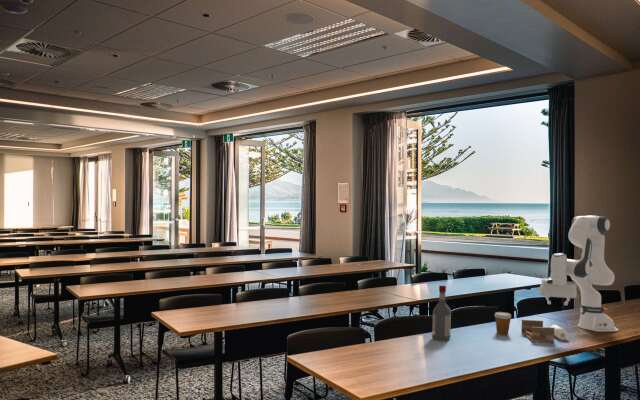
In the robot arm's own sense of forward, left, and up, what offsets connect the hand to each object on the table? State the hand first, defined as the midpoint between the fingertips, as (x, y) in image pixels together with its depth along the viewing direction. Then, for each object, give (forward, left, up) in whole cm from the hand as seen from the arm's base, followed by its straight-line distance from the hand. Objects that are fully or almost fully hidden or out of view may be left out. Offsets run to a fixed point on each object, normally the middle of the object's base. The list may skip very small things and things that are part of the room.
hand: (557, 304), depth 289 cm
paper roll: (-1, 0, -16) cm, 16 cm away
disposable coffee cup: (+30, -2, -19) cm, 36 cm away
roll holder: (+12, +4, -19) cm, 23 cm away
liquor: (+69, +16, -19) cm, 74 cm away
